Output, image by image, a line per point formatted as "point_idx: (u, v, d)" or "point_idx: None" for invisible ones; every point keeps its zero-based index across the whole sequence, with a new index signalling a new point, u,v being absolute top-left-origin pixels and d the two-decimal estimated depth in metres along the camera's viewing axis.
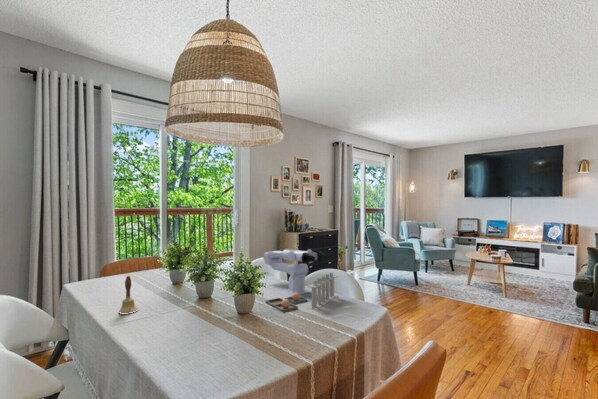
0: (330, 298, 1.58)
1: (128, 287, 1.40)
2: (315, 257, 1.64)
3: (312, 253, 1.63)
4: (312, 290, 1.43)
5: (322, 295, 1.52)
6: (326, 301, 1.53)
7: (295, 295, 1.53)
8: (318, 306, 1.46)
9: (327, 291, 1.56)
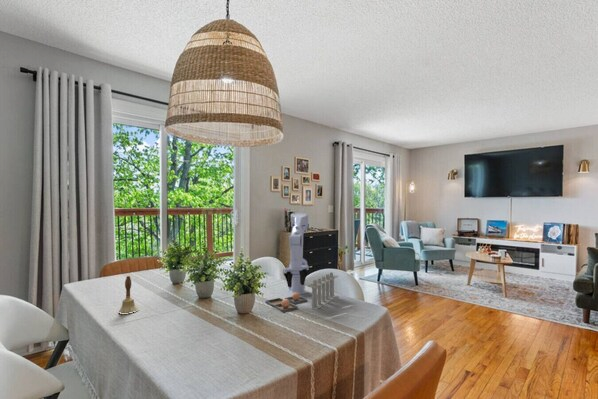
0: (330, 298, 1.58)
1: (128, 287, 1.40)
2: None
3: None
4: (312, 290, 1.43)
5: (322, 295, 1.52)
6: (326, 301, 1.53)
7: (295, 295, 1.53)
8: (318, 306, 1.46)
9: (327, 291, 1.56)
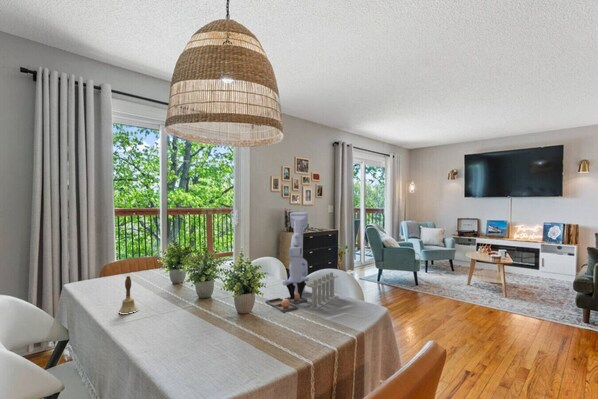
0: (330, 298, 1.58)
1: (128, 287, 1.40)
2: None
3: None
4: (312, 290, 1.43)
5: (322, 295, 1.52)
6: (326, 301, 1.53)
7: (295, 295, 1.53)
8: (318, 306, 1.46)
9: (327, 291, 1.56)
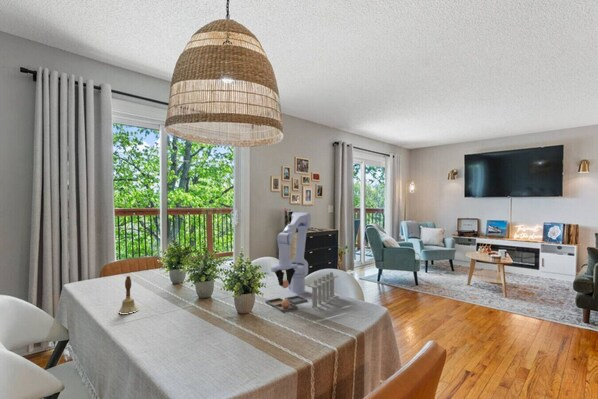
0: (330, 298, 1.58)
1: (128, 287, 1.40)
2: None
3: None
4: (313, 290, 1.43)
5: (322, 295, 1.53)
6: (326, 301, 1.53)
7: (284, 282, 1.50)
8: (318, 306, 1.46)
9: (327, 291, 1.56)
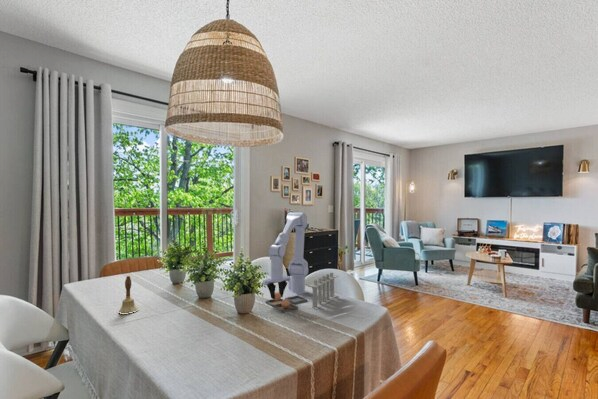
0: (330, 298, 1.58)
1: (128, 287, 1.40)
2: None
3: None
4: (313, 290, 1.44)
5: (323, 295, 1.53)
6: (326, 301, 1.53)
7: (276, 295, 1.49)
8: (319, 306, 1.46)
9: (327, 291, 1.56)
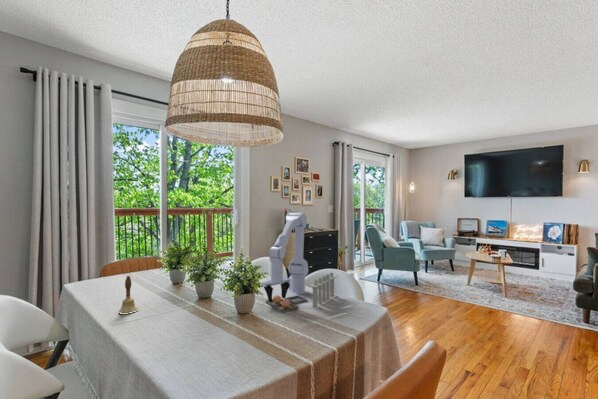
0: (330, 298, 1.58)
1: (128, 287, 1.40)
2: None
3: None
4: (313, 290, 1.44)
5: (323, 295, 1.53)
6: (327, 301, 1.54)
7: (276, 298, 1.49)
8: (319, 306, 1.46)
9: (327, 291, 1.56)
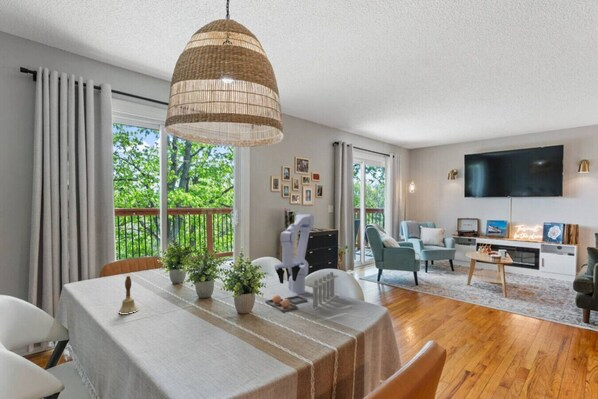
0: (331, 298, 1.58)
1: (128, 287, 1.40)
2: None
3: None
4: (313, 290, 1.44)
5: (323, 295, 1.53)
6: (327, 300, 1.54)
7: (276, 298, 1.49)
8: (319, 305, 1.46)
9: (328, 291, 1.57)
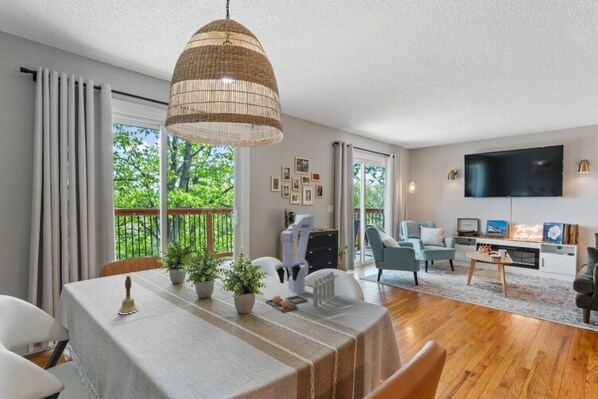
0: (331, 297, 1.59)
1: (128, 287, 1.40)
2: None
3: None
4: (313, 289, 1.44)
5: (323, 294, 1.53)
6: (327, 300, 1.54)
7: (275, 298, 1.49)
8: (319, 305, 1.46)
9: (328, 290, 1.57)
